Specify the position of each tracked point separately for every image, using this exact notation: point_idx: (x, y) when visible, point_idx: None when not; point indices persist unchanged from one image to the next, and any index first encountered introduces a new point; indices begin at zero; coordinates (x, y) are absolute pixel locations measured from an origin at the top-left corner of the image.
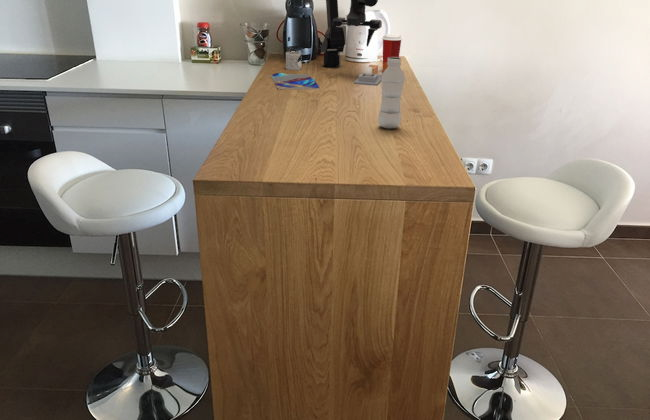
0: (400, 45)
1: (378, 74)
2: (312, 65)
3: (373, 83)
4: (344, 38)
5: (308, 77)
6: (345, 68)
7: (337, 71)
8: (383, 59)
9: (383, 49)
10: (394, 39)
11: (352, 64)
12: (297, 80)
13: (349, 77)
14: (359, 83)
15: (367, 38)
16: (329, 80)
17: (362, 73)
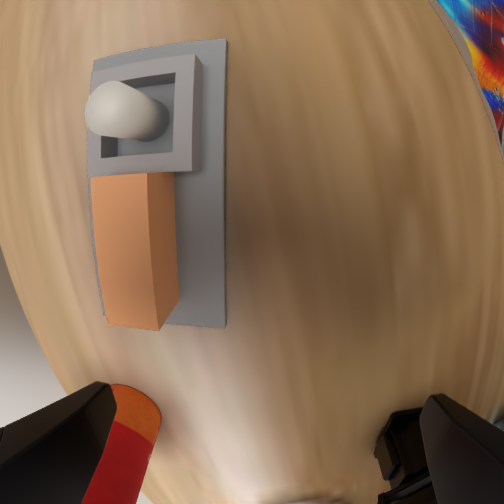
0: None
1: None
2: (480, 405)
3: (111, 60)
4: (479, 443)
5: (497, 107)
6: (349, 423)
7: (389, 351)
8: (133, 443)
9: (118, 485)
10: None
11: (322, 481)
12: (498, 17)
13: (297, 210)
14: (191, 43)
15: (33, 439)
16: (394, 79)
17: (184, 155)
